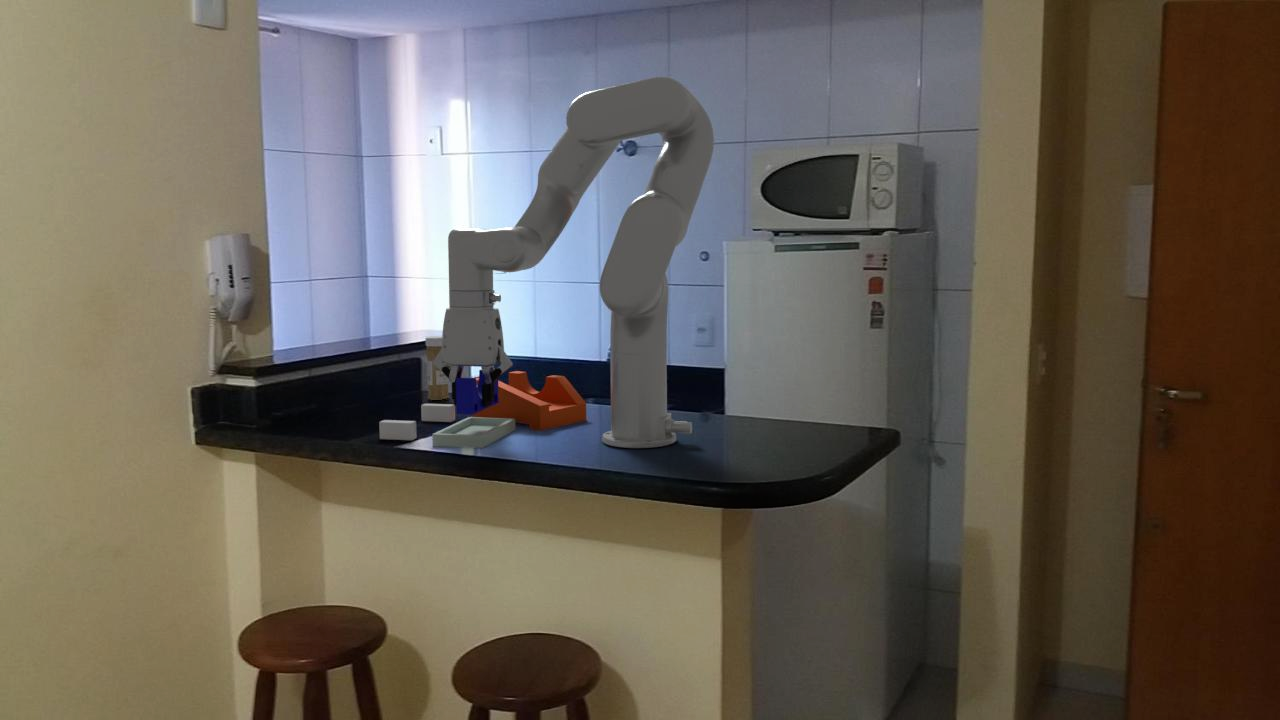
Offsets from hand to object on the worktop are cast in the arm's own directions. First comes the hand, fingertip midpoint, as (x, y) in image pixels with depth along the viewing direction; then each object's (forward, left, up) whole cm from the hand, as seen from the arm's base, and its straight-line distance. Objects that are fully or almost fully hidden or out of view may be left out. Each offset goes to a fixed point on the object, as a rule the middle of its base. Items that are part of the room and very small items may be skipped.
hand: (473, 403), depth 186 cm
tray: (0, 0, -6) cm, 6 cm away
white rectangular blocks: (+13, -5, -6) cm, 15 cm away
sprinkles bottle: (+23, -36, -6) cm, 43 cm away
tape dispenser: (-4, -17, -7) cm, 19 cm away
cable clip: (0, 0, -1) cm, 1 cm away
